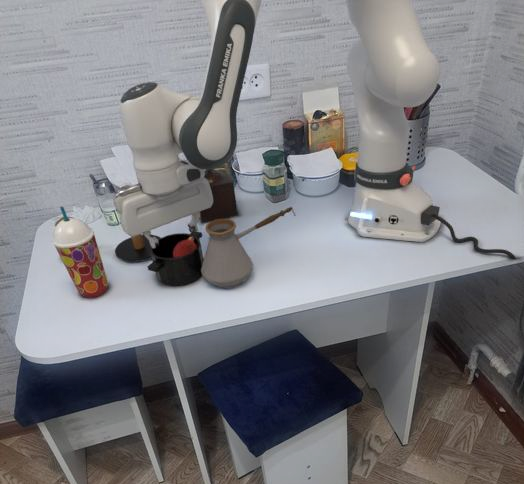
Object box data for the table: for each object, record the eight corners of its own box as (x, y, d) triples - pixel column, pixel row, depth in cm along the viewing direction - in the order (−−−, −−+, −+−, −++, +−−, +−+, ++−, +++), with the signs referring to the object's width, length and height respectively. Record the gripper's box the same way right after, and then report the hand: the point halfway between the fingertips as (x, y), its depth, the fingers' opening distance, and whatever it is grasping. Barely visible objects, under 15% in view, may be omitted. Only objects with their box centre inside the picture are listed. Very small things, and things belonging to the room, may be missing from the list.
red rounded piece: (190, 278, 106) (200, 247, 101) (166, 268, 105) (175, 236, 101) (196, 268, 110) (206, 238, 106) (173, 258, 110) (182, 227, 106)
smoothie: (91, 277, 110) (59, 196, 97) (120, 283, 107) (91, 200, 94) (68, 298, 104) (30, 214, 91) (98, 304, 102) (64, 219, 88)
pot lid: (174, 243, 119) (170, 225, 115) (142, 268, 111) (137, 249, 108) (138, 234, 124) (133, 216, 120) (105, 257, 116) (99, 239, 113)
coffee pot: (203, 296, 101) (190, 233, 91) (202, 267, 109) (191, 207, 99) (301, 283, 101) (299, 219, 91) (293, 256, 110) (291, 194, 100)
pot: (221, 259, 111) (216, 233, 106) (178, 298, 101) (171, 270, 96) (184, 250, 116) (178, 224, 111) (139, 286, 106) (130, 259, 101)
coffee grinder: (229, 199, 135) (220, 134, 123) (238, 215, 127) (230, 147, 115) (176, 210, 133) (161, 145, 121) (182, 227, 125) (167, 159, 113)
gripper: (116, 198, 88) (136, 262, 97) (211, 166, 95) (221, 228, 105) (105, 188, 92) (125, 250, 101) (196, 158, 99) (207, 218, 109)
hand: (174, 238), depth 103 cm, fingers open, 8 cm apart
